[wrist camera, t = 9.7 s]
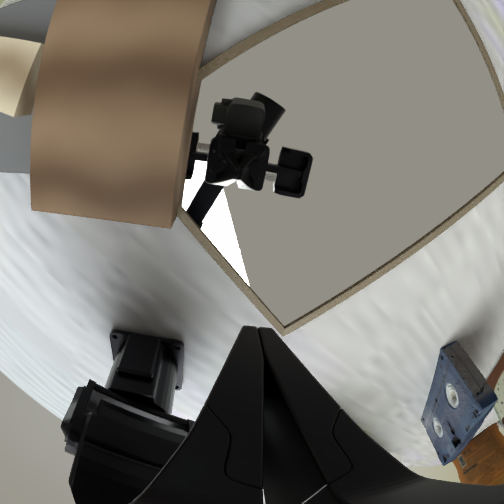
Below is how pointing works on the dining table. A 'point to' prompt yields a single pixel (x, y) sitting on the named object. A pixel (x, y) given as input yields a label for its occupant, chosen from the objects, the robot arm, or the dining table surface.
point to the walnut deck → (116, 107)
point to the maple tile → (18, 75)
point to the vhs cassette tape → (456, 403)
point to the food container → (498, 387)
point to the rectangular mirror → (339, 148)
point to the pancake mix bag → (482, 459)
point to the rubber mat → (19, 128)
